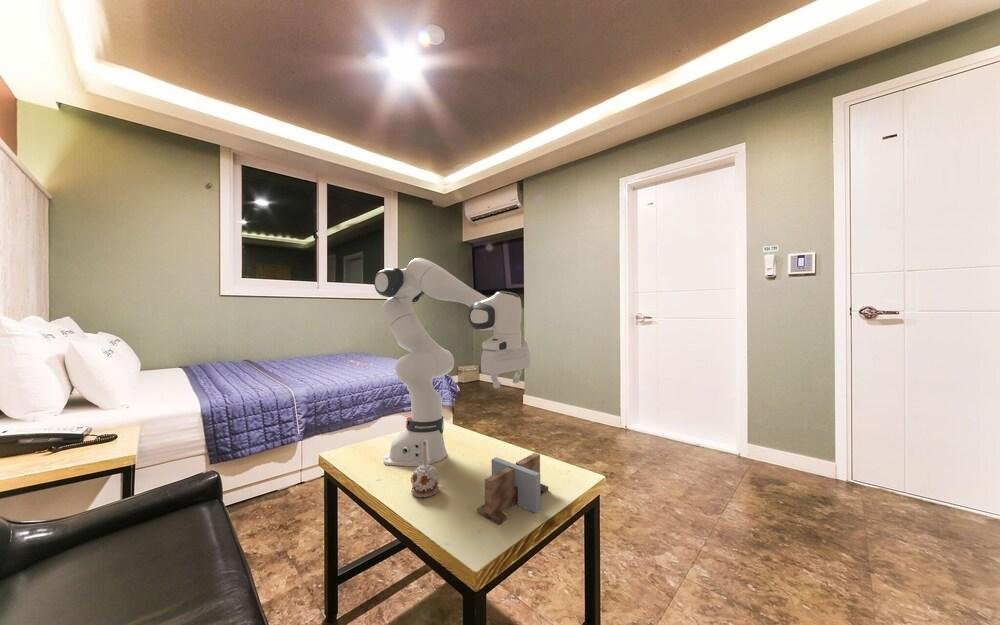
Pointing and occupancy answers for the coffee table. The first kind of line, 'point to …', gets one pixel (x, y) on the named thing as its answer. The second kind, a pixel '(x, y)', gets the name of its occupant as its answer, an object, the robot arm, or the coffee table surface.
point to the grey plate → (522, 483)
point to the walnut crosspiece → (505, 490)
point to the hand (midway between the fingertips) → (506, 385)
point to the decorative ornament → (425, 479)
